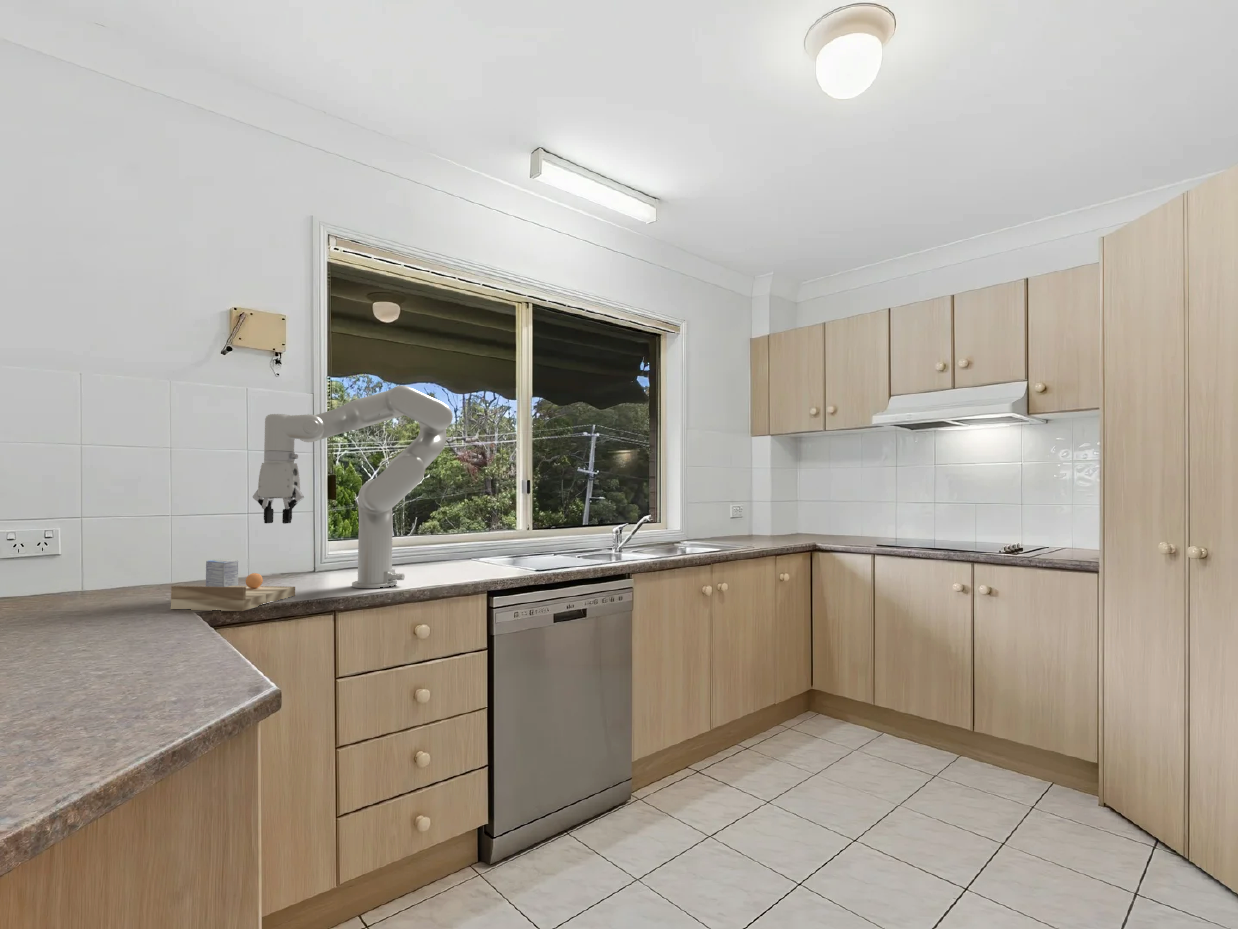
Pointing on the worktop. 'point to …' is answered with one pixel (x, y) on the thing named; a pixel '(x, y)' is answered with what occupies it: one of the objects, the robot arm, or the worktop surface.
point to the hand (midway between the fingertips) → (277, 522)
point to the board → (226, 597)
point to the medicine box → (221, 573)
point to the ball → (254, 580)
